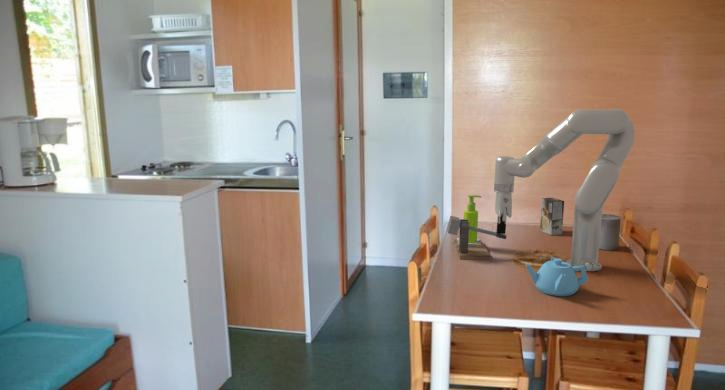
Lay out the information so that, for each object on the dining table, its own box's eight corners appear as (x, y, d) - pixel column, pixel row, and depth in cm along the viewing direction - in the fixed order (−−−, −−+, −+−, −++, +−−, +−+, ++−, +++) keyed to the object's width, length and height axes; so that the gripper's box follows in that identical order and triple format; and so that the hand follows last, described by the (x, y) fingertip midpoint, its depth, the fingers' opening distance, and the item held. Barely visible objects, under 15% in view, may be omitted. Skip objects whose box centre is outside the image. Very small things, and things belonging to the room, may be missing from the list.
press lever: (504, 246, 213) (508, 232, 212) (448, 233, 213) (451, 218, 212) (501, 242, 219) (505, 228, 218) (446, 229, 219) (450, 215, 218)
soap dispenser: (480, 243, 227) (482, 196, 223) (464, 243, 227) (466, 196, 223) (477, 239, 232) (479, 193, 229) (461, 239, 232) (463, 193, 229)
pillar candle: (613, 244, 234) (616, 211, 231) (621, 251, 224) (624, 216, 222) (590, 244, 235) (592, 210, 232) (597, 250, 225) (600, 215, 223)
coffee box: (562, 234, 251) (565, 200, 248) (551, 235, 249) (553, 201, 246) (550, 229, 259) (552, 197, 256) (539, 230, 258) (541, 197, 255)
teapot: (560, 302, 169) (563, 269, 167) (522, 288, 182) (524, 257, 179) (589, 292, 178) (592, 261, 176) (551, 279, 190) (553, 250, 188)
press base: (490, 259, 212) (492, 224, 209) (459, 259, 213) (461, 223, 210) (480, 243, 236) (482, 210, 233) (453, 242, 236) (454, 210, 234)
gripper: (517, 191, 204) (514, 238, 208) (509, 184, 219) (506, 228, 222) (497, 191, 205) (494, 237, 208) (490, 184, 219) (488, 228, 223)
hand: (500, 232), depth 215 cm, fingers closed
